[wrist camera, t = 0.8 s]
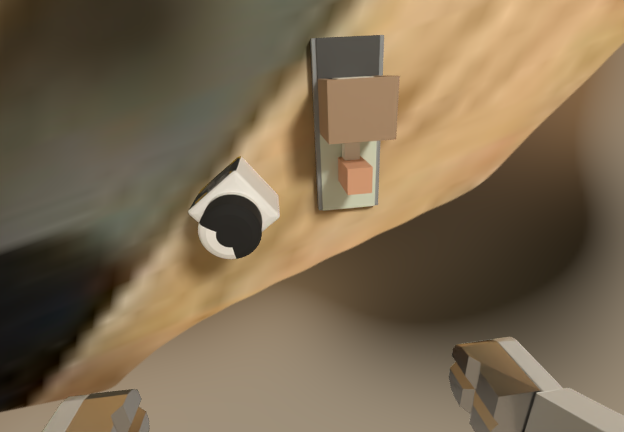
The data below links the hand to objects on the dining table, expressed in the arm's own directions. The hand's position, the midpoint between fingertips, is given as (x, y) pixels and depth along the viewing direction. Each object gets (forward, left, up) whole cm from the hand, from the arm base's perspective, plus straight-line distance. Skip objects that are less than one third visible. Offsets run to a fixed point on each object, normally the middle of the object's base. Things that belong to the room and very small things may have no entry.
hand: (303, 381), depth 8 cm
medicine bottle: (+6, -5, -34) cm, 35 cm away
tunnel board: (-1, +9, -34) cm, 35 cm away
